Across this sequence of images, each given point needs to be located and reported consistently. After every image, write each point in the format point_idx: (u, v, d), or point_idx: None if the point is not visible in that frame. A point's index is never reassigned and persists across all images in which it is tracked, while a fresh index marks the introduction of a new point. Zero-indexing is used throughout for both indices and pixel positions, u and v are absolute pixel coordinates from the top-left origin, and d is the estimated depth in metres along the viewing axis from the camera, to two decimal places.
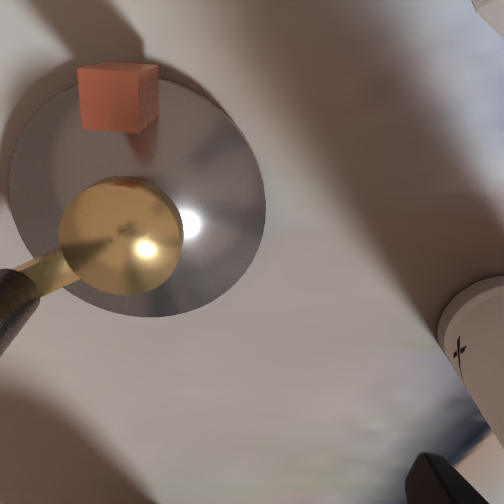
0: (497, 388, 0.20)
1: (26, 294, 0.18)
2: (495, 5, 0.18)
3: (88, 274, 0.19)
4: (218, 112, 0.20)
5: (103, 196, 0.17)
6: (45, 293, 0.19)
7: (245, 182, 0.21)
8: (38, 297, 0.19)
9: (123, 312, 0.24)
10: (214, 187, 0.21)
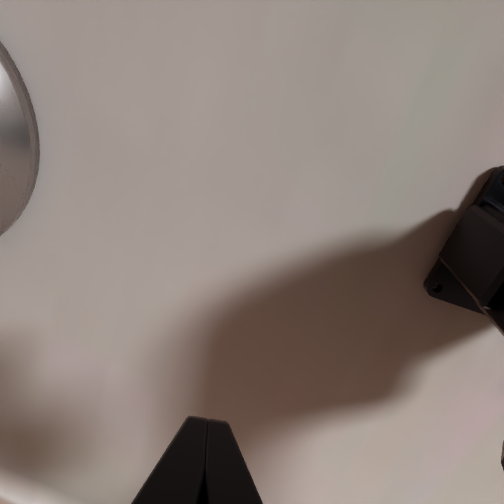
0: None
1: None
2: None
3: None
4: None
5: None
6: None
7: None
8: None
9: (23, 182, 0.18)
10: None
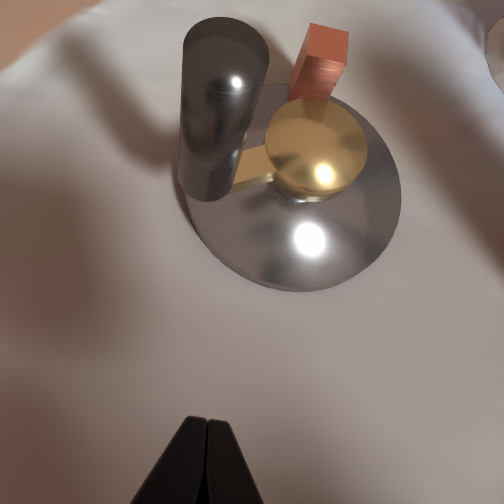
0: None
1: None
2: None
3: (286, 164, 0.20)
4: (363, 117, 0.26)
5: (310, 104, 0.21)
6: (238, 181, 0.20)
7: (384, 168, 0.26)
8: (233, 180, 0.20)
9: (266, 278, 0.22)
10: None
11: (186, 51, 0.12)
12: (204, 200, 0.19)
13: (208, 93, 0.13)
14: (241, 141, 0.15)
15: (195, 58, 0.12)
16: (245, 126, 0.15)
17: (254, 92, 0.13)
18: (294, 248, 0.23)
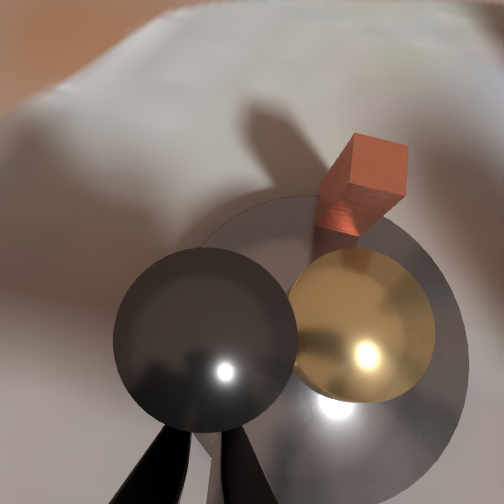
0: None
1: None
2: None
3: (312, 357, 0.13)
4: (416, 242, 0.19)
5: (357, 259, 0.15)
6: None
7: (445, 318, 0.19)
8: None
9: (278, 499, 0.15)
10: None
11: (120, 335, 0.06)
12: None
13: (160, 420, 0.06)
14: None
15: (137, 353, 0.06)
16: None
17: None
18: (320, 448, 0.16)
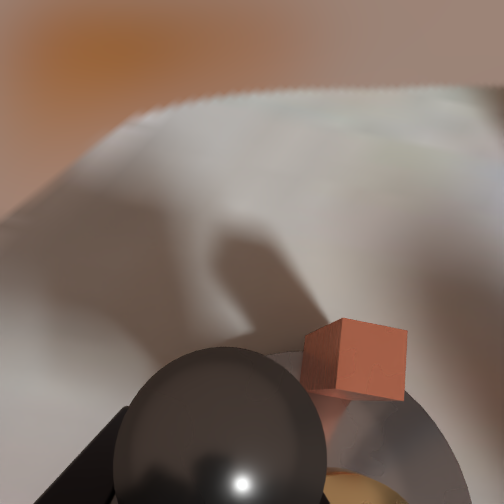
0: None
1: None
2: None
3: None
4: (418, 404, 0.17)
5: None
6: None
7: (451, 501, 0.16)
8: None
9: None
10: None
11: (174, 368, 0.05)
12: None
13: (118, 458, 0.05)
14: None
15: (166, 396, 0.05)
16: None
17: None
18: None
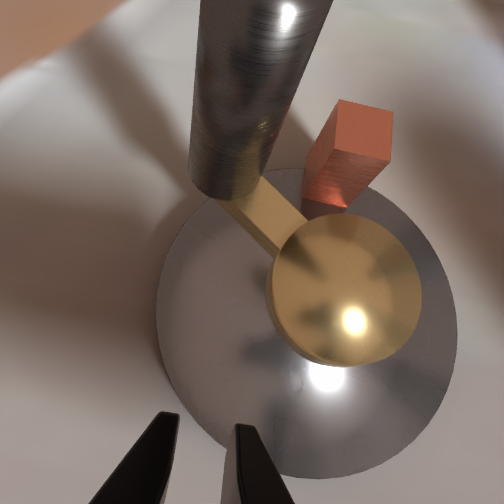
0: None
1: (254, 181, 0.14)
2: None
3: (292, 254, 0.14)
4: (404, 213, 0.19)
5: (399, 256, 0.15)
6: (239, 206, 0.14)
7: (433, 287, 0.19)
8: (234, 198, 0.14)
9: None
10: None
11: None
12: (189, 173, 0.14)
13: None
14: (228, 119, 0.10)
15: None
16: (234, 94, 0.09)
17: (245, 30, 0.08)
18: (310, 416, 0.16)
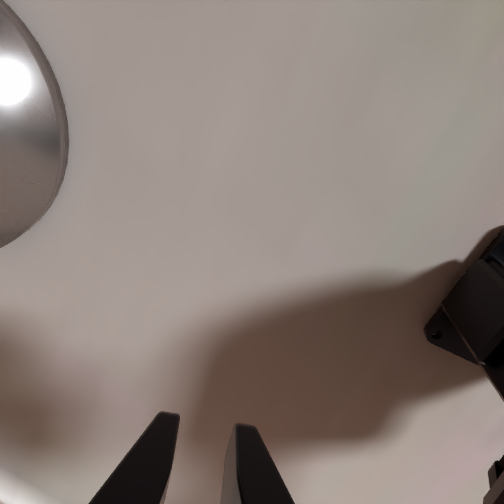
0: None
1: None
2: None
3: None
4: None
5: None
6: None
7: None
8: None
9: (48, 189, 0.19)
10: None
11: None
12: None
13: None
14: None
15: None
16: None
17: None
18: (6, 145, 0.18)
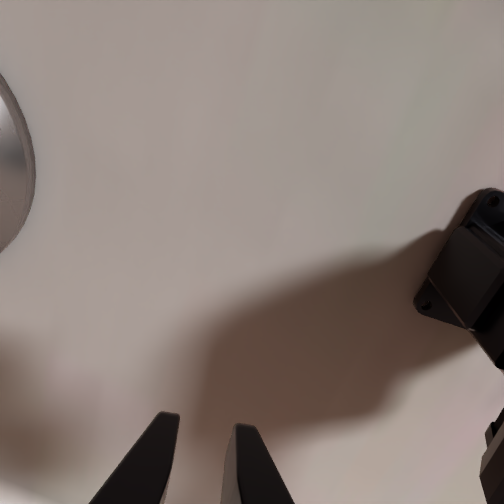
0: None
1: None
2: None
3: None
4: None
5: None
6: None
7: None
8: None
9: (19, 205, 0.18)
10: None
11: None
12: None
13: None
14: None
15: None
16: None
17: None
18: None
